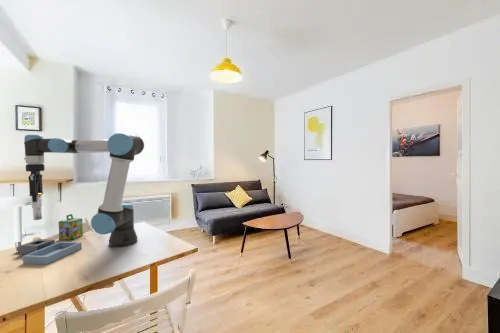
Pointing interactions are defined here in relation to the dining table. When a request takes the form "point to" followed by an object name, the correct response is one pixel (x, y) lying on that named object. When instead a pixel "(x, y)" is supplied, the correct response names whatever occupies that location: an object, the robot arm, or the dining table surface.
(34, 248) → the hitch block
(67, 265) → the dining table surface
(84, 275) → the dining table surface
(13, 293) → the dining table surface
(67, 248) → the tray
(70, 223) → the green lunch box
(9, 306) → the dining table surface
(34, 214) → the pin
